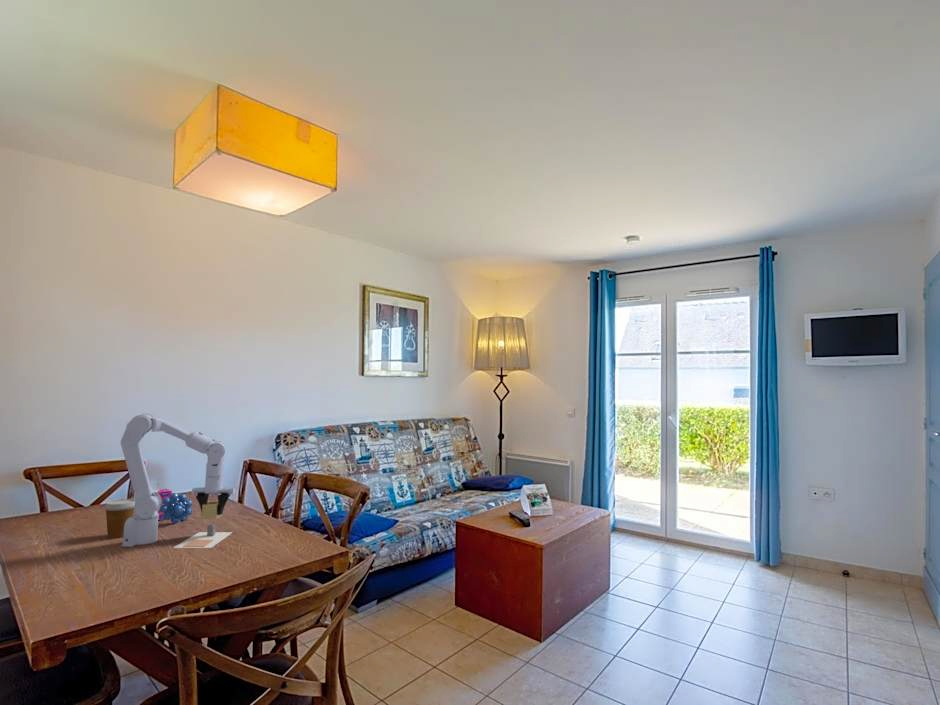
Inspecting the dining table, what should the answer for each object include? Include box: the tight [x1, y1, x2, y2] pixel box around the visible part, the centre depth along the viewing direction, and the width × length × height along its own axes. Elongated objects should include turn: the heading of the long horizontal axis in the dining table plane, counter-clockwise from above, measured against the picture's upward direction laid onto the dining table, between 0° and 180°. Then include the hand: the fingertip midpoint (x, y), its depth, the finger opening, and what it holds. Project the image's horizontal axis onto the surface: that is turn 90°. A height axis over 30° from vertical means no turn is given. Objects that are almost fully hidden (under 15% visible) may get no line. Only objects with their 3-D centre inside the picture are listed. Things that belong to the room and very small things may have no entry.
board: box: [173, 524, 233, 549], centre depth 176 cm, size 12×18×4 cm, turn 4°
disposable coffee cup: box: [104, 498, 135, 539], centre depth 181 cm, size 10×10×12 cm
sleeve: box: [201, 500, 223, 520], centre depth 181 cm, size 5×5×5 cm
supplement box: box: [153, 488, 173, 521], centre depth 204 cm, size 6×6×12 cm
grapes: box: [160, 492, 194, 524], centre depth 197 cm, size 12×7×12 cm, turn 132°
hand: (212, 514), depth 181 cm, fingers closed on sleeve, 5 cm apart
